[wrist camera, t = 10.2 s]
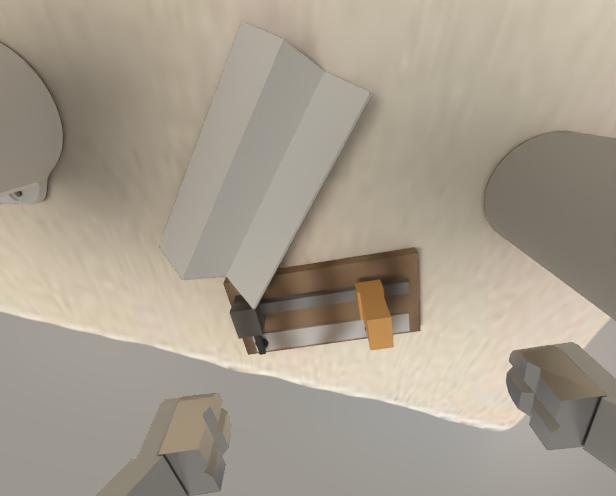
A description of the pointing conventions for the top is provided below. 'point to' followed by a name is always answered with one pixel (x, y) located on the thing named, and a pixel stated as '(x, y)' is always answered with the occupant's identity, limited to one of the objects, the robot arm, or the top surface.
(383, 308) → the sliding jaw
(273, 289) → the gauge board
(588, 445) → the robot arm
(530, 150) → the cylinder vase
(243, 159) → the z bracket
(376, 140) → the top surface
